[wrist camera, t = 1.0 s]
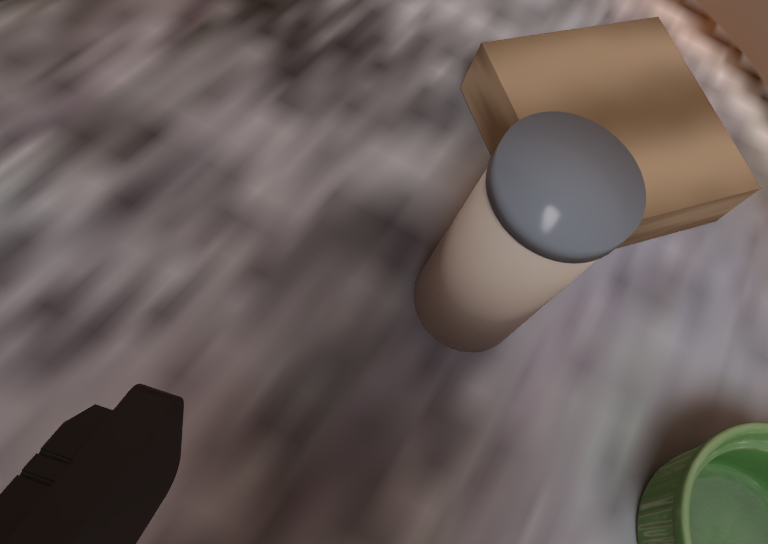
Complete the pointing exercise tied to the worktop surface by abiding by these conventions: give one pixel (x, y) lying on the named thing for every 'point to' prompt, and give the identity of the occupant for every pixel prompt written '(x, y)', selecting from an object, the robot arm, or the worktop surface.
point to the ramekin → (711, 492)
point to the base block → (620, 112)
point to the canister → (529, 228)
